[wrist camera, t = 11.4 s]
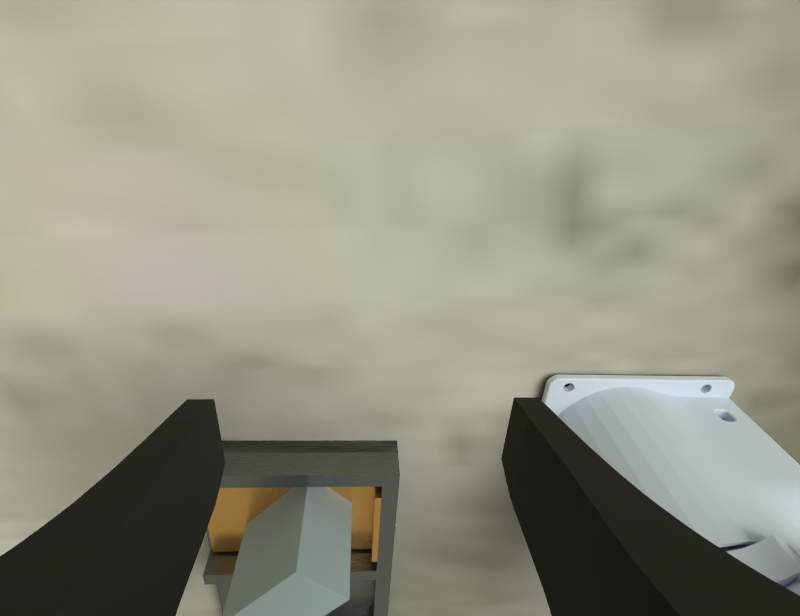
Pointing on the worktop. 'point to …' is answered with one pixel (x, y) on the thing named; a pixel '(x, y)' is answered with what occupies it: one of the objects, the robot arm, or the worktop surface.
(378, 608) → the tray
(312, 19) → the worktop surface
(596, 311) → the worktop surface
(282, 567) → the pale blue block
